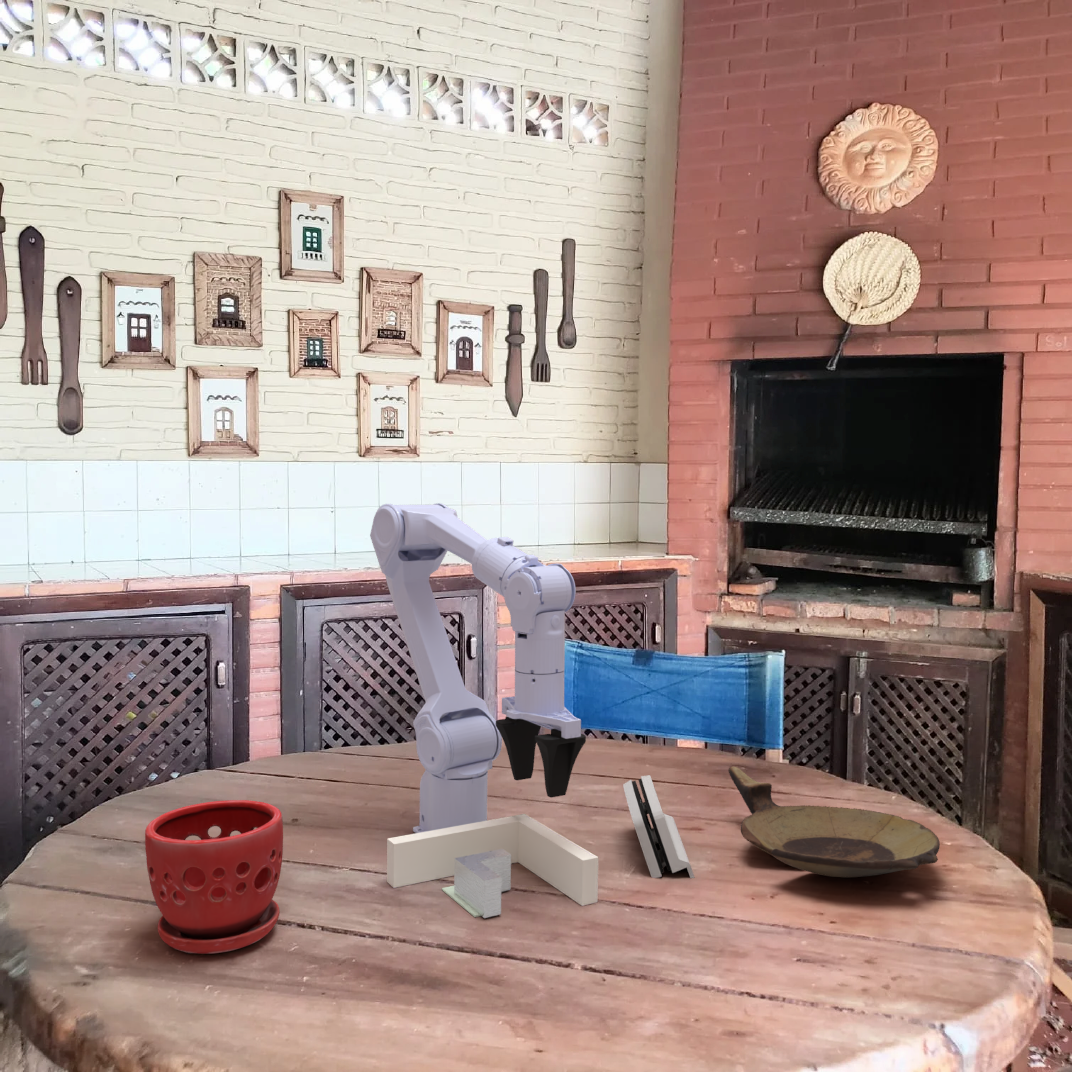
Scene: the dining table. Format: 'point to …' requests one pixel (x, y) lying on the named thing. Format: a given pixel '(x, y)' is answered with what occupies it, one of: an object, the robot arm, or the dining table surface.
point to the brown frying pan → (832, 835)
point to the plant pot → (215, 874)
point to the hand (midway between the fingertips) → (539, 787)
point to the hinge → (655, 830)
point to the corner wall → (514, 834)
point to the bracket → (483, 880)
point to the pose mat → (459, 900)
